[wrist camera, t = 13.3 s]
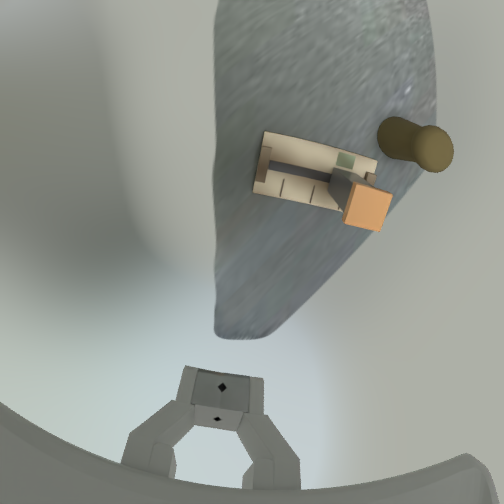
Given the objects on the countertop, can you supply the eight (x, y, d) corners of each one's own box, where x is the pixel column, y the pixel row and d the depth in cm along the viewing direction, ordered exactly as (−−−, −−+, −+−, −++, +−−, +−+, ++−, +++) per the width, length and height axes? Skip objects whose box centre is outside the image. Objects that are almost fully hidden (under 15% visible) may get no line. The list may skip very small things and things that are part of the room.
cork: (417, 123, 30) (465, 133, 20) (410, 163, 33) (454, 185, 23) (380, 111, 30) (424, 115, 20) (373, 153, 33) (413, 172, 23)
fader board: (264, 131, 32) (264, 132, 30) (374, 159, 33) (380, 162, 31) (252, 190, 36) (252, 194, 34) (357, 213, 37) (362, 218, 35)
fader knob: (331, 163, 32) (356, 184, 23) (360, 171, 32) (392, 194, 23) (323, 193, 34) (344, 223, 25) (351, 200, 34) (379, 232, 25)
